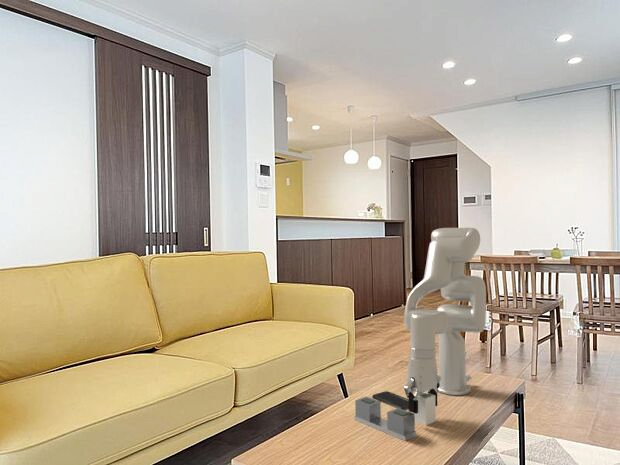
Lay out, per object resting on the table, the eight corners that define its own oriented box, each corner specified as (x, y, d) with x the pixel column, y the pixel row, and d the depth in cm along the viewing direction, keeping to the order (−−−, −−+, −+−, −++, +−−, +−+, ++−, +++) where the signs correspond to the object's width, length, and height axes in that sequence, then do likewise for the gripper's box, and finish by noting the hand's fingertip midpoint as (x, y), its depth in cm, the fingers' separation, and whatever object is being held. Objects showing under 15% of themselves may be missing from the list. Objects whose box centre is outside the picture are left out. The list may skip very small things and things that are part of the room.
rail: (365, 415, 149) (365, 395, 149) (416, 435, 134) (415, 413, 134) (354, 419, 146) (354, 399, 146) (405, 441, 131) (404, 418, 131)
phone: (386, 390, 170) (418, 402, 157) (386, 393, 170) (418, 406, 157) (370, 395, 165) (401, 408, 153) (370, 398, 165) (401, 411, 153)
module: (422, 416, 148) (421, 390, 148) (435, 421, 144) (435, 394, 144) (412, 420, 145) (412, 394, 145) (425, 425, 141) (425, 398, 141)
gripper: (429, 347, 153) (429, 399, 152) (395, 355, 142) (395, 411, 141) (449, 351, 147) (449, 405, 147) (415, 360, 136) (415, 419, 135)
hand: (423, 408), depth 144 cm, fingers open, 9 cm apart
